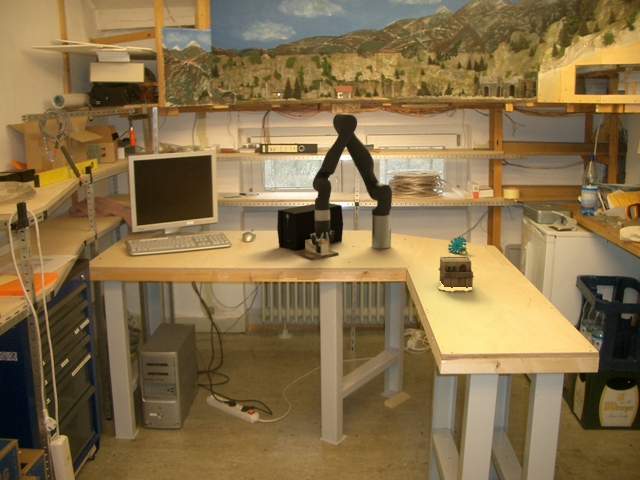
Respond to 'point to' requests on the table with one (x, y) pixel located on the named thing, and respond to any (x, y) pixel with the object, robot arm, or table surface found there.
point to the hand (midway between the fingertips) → (322, 252)
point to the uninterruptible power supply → (305, 225)
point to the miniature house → (456, 272)
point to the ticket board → (313, 252)
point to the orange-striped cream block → (324, 247)
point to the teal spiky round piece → (458, 245)
